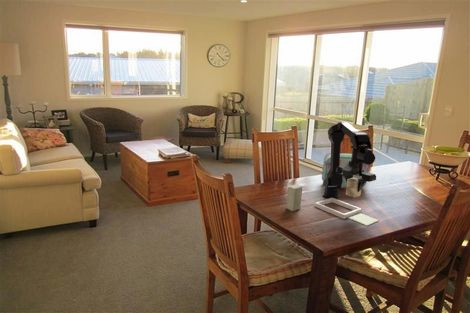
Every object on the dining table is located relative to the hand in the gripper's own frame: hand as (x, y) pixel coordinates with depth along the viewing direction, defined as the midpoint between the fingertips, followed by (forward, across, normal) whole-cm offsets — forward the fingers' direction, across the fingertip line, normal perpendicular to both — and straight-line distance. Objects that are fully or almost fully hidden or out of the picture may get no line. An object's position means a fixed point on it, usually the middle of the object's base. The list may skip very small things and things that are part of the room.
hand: (353, 190), depth 174 cm
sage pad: (+13, +7, 0) cm, 15 cm away
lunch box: (+12, -30, +34) cm, 47 cm away
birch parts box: (+2, 0, 0) cm, 2 cm away
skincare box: (+13, -21, -19) cm, 31 cm away
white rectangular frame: (+13, -8, 0) cm, 15 cm away
